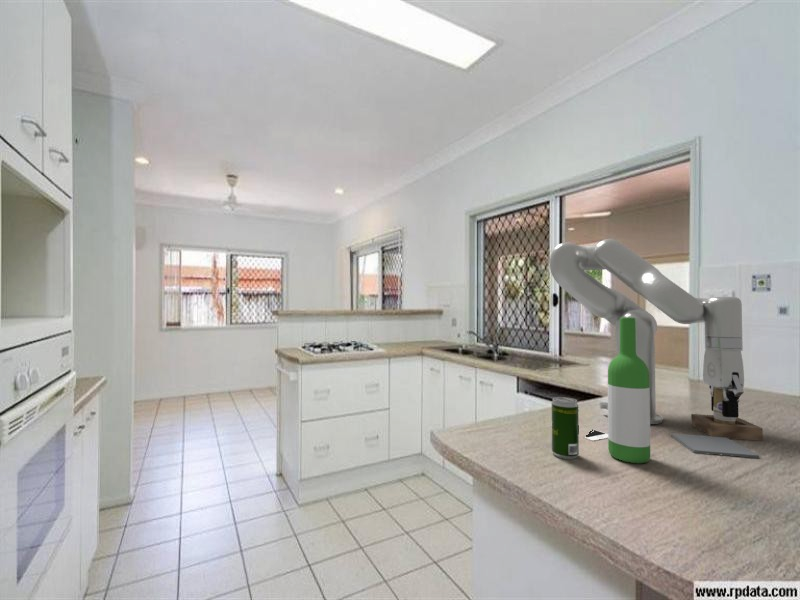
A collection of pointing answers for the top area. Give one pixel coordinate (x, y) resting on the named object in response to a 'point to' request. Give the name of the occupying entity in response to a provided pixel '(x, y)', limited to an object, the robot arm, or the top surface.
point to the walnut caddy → (727, 428)
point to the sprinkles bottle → (718, 407)
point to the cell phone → (596, 435)
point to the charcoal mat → (713, 445)
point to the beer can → (565, 428)
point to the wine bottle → (628, 400)
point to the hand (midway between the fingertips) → (724, 413)
